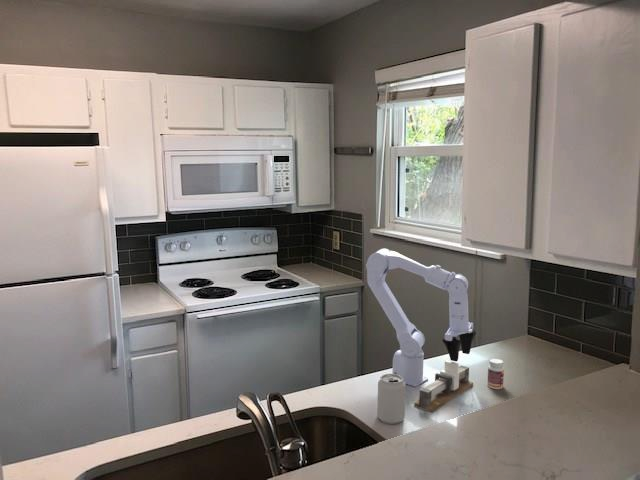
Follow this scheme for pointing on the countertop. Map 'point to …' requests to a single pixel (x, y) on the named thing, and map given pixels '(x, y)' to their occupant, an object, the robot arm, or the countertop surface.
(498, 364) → the pill bottle
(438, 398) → the pipe board
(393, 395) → the can
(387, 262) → the robot arm
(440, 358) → the countertop surface
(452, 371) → the sleeve
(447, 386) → the grey square plate
